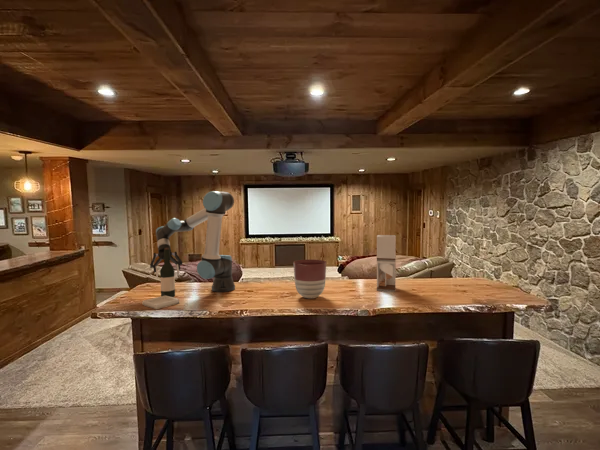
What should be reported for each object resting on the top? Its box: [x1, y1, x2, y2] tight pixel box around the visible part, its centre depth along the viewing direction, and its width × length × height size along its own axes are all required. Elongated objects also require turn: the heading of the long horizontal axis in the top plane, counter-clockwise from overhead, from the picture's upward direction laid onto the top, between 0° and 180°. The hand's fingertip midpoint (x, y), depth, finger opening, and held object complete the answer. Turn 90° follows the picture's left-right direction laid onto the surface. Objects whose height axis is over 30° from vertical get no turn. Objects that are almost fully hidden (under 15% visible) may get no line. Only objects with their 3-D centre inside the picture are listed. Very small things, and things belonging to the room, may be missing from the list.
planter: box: [293, 259, 327, 300], centre depth 199 cm, size 20×20×21 cm
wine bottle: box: [159, 248, 176, 298], centre depth 205 cm, size 8×8×30 cm
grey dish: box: [141, 295, 180, 310], centre depth 189 cm, size 14×14×2 cm
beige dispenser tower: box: [376, 234, 397, 293], centre depth 217 cm, size 11×11×35 cm
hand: (168, 275), depth 202 cm, fingers open, 11 cm apart
